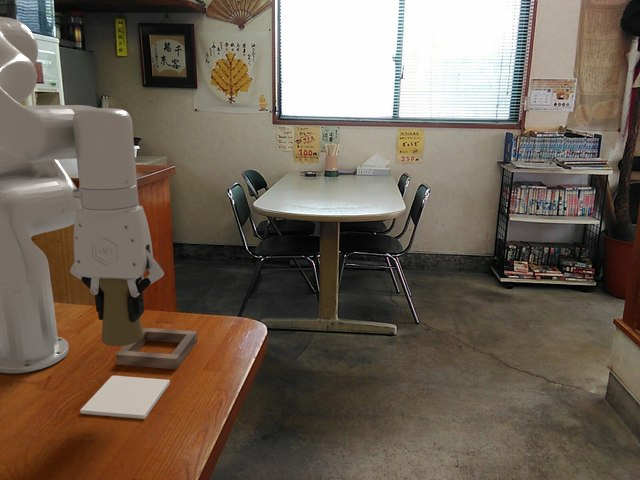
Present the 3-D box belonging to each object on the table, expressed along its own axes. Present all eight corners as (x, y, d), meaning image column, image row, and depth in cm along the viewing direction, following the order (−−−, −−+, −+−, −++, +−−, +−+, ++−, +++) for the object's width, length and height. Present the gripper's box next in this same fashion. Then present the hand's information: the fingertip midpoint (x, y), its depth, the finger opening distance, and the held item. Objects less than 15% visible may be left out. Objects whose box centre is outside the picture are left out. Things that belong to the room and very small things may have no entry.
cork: (130, 348, 77) (123, 277, 74) (93, 343, 78) (85, 273, 75) (151, 330, 83) (146, 264, 80) (116, 326, 84) (110, 260, 81)
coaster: (80, 413, 79) (80, 410, 79) (112, 378, 89) (112, 375, 89) (144, 418, 78) (144, 415, 78) (170, 383, 88) (170, 379, 88)
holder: (116, 364, 93) (115, 354, 93) (143, 336, 104) (142, 327, 103) (177, 369, 92) (176, 358, 92) (197, 340, 103) (197, 331, 102)
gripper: (37, 201, 72) (54, 324, 77) (156, 206, 70) (165, 331, 75) (68, 191, 79) (81, 304, 84) (177, 195, 77) (183, 310, 82)
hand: (121, 316), depth 80 cm, fingers closed on cork, 4 cm apart
